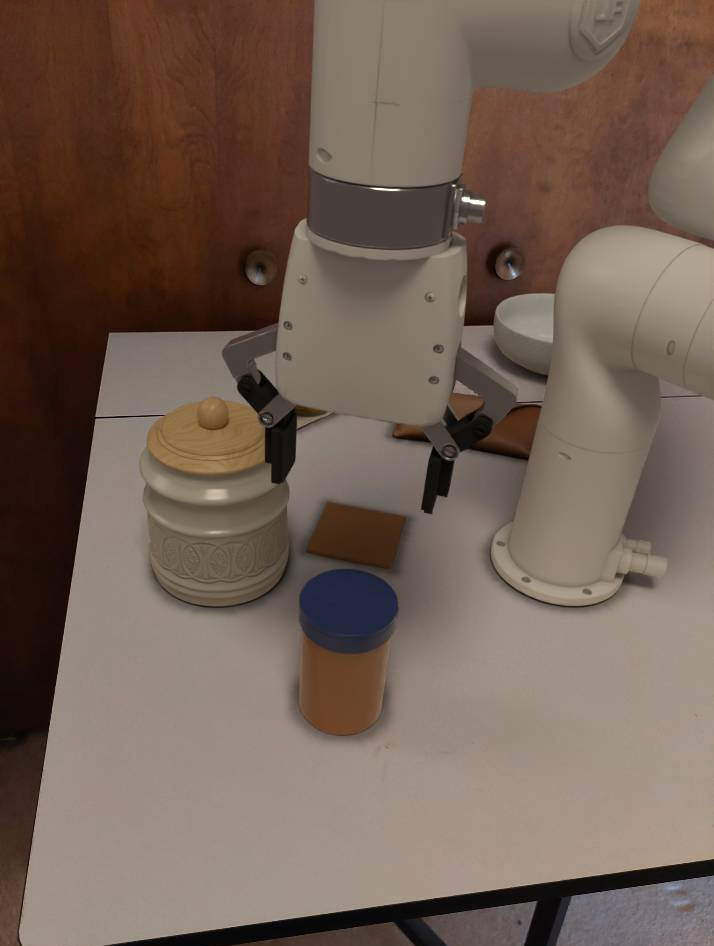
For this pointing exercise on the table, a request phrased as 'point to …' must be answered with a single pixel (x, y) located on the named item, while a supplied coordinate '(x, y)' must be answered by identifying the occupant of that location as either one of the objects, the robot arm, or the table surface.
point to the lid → (348, 611)
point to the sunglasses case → (504, 438)
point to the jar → (213, 504)
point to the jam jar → (341, 687)
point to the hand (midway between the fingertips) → (355, 487)
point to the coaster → (357, 535)
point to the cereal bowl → (526, 330)
